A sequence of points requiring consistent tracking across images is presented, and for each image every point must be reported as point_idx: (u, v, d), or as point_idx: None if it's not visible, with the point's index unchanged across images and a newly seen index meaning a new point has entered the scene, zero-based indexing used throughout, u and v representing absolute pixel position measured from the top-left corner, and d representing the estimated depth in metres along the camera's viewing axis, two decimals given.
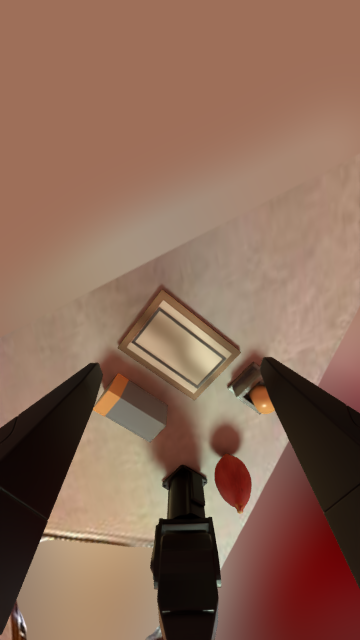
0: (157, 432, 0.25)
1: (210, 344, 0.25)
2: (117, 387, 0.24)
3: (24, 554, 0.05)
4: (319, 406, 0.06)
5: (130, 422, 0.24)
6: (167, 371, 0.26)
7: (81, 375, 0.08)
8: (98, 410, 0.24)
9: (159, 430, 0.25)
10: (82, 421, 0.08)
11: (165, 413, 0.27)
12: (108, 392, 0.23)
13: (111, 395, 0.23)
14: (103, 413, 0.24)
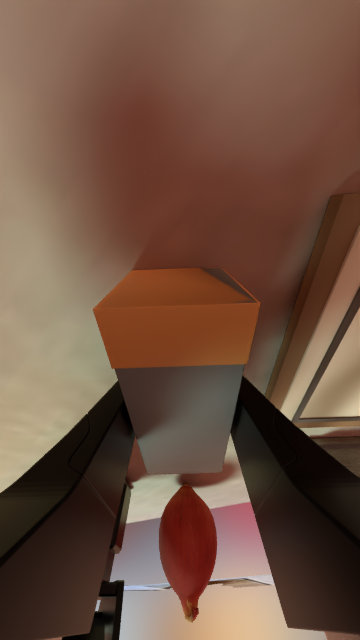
0: (188, 472, 0.09)
1: None
2: None
3: (103, 552, 0.05)
4: (248, 408, 0.06)
5: (165, 428, 0.07)
6: (311, 366, 0.10)
7: None
8: (115, 334, 0.04)
9: (198, 471, 0.09)
10: None
11: None
12: (247, 313, 0.04)
13: (239, 331, 0.04)
14: (121, 358, 0.05)
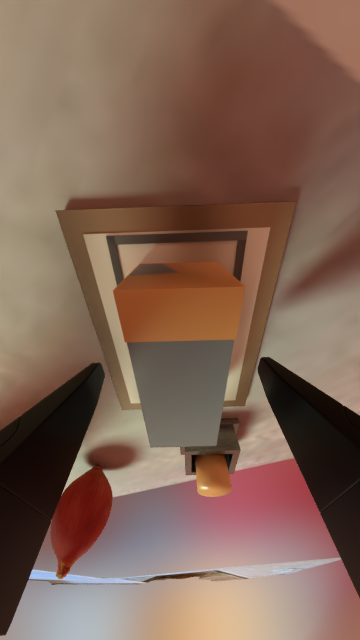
0: (186, 445, 0.10)
1: (229, 369, 0.13)
2: None
3: (28, 554, 0.05)
4: (315, 406, 0.06)
5: (167, 400, 0.08)
6: (125, 351, 0.12)
7: (84, 375, 0.08)
8: (129, 312, 0.06)
9: (195, 444, 0.10)
10: (85, 421, 0.08)
11: None
12: (234, 295, 0.05)
13: (228, 310, 0.06)
14: (133, 333, 0.06)
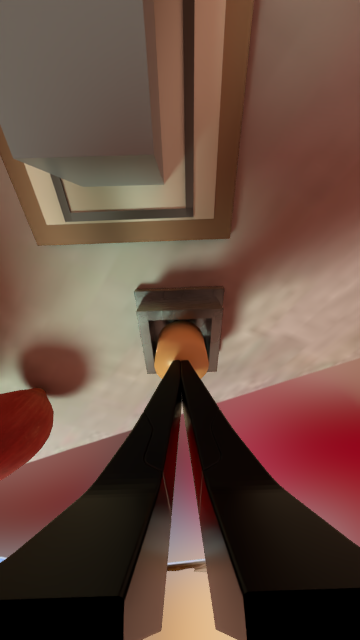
0: (89, 148, 0.05)
1: (198, 124, 0.07)
2: None
3: (166, 551, 0.05)
4: (192, 410, 0.06)
5: None
6: None
7: (175, 372, 0.08)
8: None
9: (107, 143, 0.05)
10: (179, 418, 0.08)
11: (160, 164, 0.06)
12: None
13: None
14: None
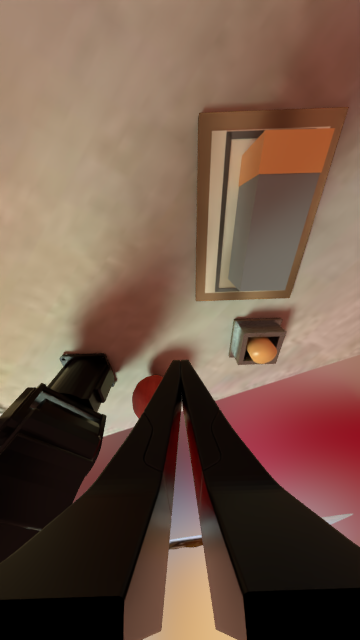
0: (265, 288, 0.15)
1: None
2: None
3: (167, 550, 0.05)
4: (192, 410, 0.06)
5: (266, 234, 0.13)
6: (214, 236, 0.16)
7: (175, 372, 0.08)
8: (268, 147, 0.10)
9: (271, 287, 0.15)
10: (179, 418, 0.08)
11: None
12: (328, 134, 0.10)
13: (322, 147, 0.10)
14: (265, 165, 0.11)
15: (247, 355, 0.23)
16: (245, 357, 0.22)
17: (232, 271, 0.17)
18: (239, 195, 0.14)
